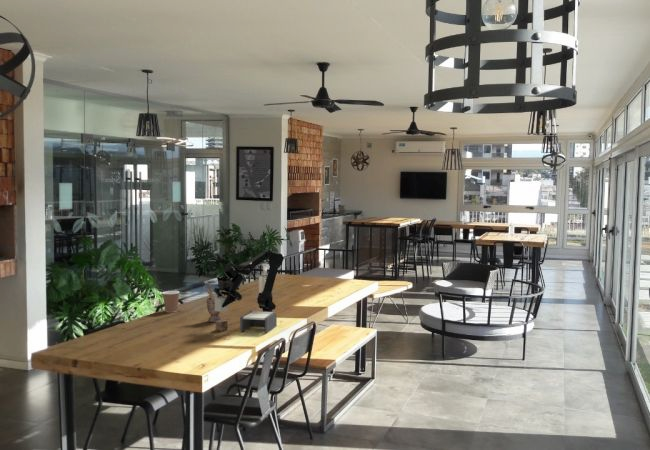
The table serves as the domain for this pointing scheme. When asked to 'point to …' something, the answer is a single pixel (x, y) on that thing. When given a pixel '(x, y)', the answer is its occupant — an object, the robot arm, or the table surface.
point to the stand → (221, 325)
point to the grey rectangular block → (220, 304)
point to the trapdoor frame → (259, 322)
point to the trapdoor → (257, 315)
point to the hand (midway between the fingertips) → (219, 306)
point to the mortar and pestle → (212, 306)
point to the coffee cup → (171, 300)
